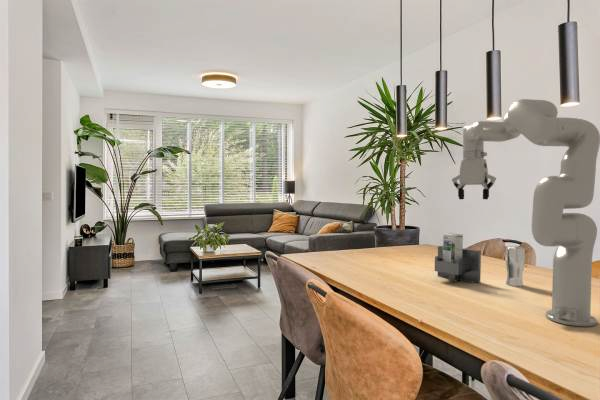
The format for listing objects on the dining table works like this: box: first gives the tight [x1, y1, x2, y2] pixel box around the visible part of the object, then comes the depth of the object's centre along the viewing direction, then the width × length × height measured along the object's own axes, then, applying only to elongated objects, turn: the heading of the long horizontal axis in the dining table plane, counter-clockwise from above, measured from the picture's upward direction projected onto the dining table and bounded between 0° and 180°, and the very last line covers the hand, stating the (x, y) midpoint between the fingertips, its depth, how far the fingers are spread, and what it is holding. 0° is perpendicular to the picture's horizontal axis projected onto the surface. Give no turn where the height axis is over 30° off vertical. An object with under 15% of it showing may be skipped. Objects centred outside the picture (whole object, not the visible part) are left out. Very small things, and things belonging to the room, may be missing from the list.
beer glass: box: [504, 245, 526, 288], centre depth 165 cm, size 7×7×15 cm
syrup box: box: [442, 232, 464, 263], centre depth 171 cm, size 6×6×14 cm
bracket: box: [434, 245, 482, 284], centre depth 172 cm, size 11×18×13 cm, turn 42°
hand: (473, 199), depth 165 cm, fingers open, 9 cm apart
